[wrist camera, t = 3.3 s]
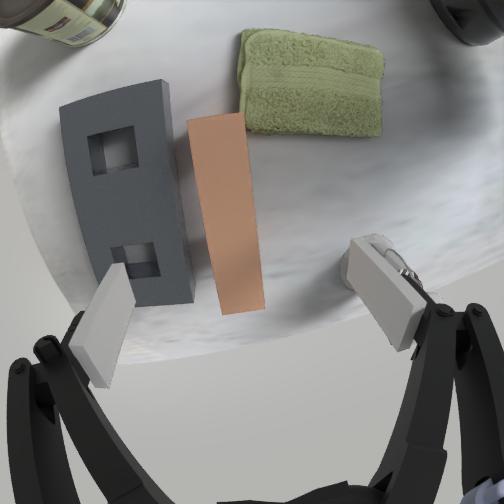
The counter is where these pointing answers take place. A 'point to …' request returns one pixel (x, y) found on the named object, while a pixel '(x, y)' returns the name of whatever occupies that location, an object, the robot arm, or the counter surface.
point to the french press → (391, 256)
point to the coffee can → (62, 18)
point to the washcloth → (309, 84)
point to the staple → (228, 209)
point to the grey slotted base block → (130, 190)
